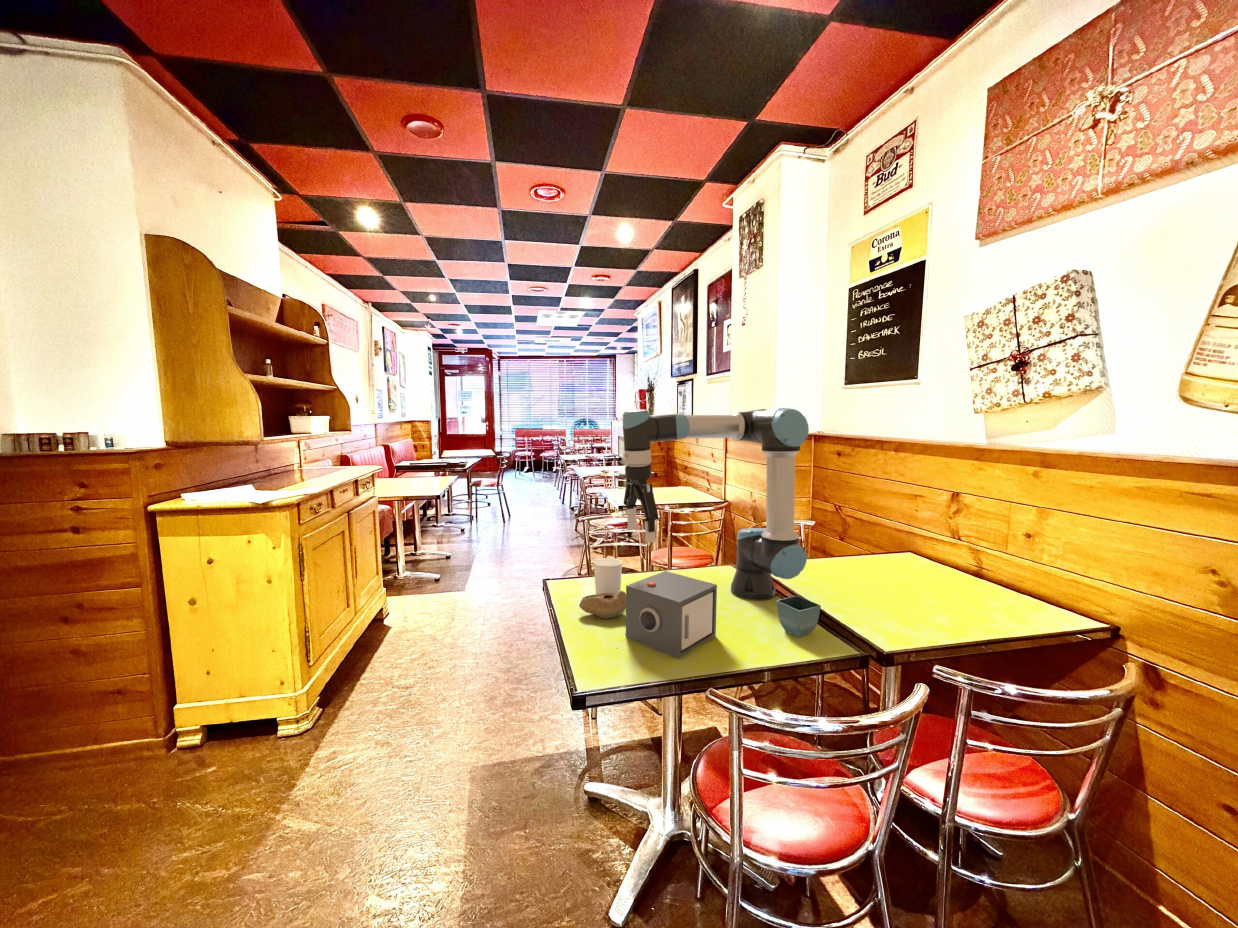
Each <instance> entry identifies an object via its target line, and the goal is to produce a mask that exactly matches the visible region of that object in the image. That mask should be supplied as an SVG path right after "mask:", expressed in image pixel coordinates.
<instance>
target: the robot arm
mask: <svg viewBox="0 0 1238 928" xmlns="http://www.w3.org/2000/svg"><path fill="white" fill-rule="evenodd" d="M809 430H810V429H809V423H808V420H807V418H806V417H805V415H804V414H803V413H802V412H800V411H799V410H798V409H794V408H788V407H787V408H786V407H781V408H762V409H754V410H749V411H748V410H747V411H734V412H733V413H732V414H715V415H714V414H712V415H711V414H709V415H708V414H684V413H672V414H650V411H649V410H647V409H630V410H629V409H628V410H626V411H624V412H623V414H622V433H623V446H624V447H623V450H624V452H623V454H622V456H623V458H624V464H626V465H625V466H624V472H625V475H624V477H625V482H626V485H625V491H624V496H623V497H624V498H623V506H625V508H626V516H627V517H626V518H627V531H632V530H637V529H638V524H637V523H638V522H637V519H638V518H637V507H638V506H637V501H640V505H641V507H642V508H641V509H642V511H643V514H644V520H643V521H644V533H645V534H644V536H645V544H651V543H652V544H653V543H656V523H655V521H656V520H659V514H658V513H659V512H658V509H657V504H656V501H655V497H654V495H655V494H654V491H653V489H654V488H653V484H652V483H651V484H648V481H647V480H648V479H650V478H651V477H652V465H651V463H652V453H651V452H652V449H651V443H655V442H656V443H658V442H668V441H679V440H684V439H731V440H732V441H735V442H736V441H737V442H738V441H739V442H740V441H742V442H749V443H750V442H751V443H755V444H761V453H763V454H764V455H765V456H766V497H765V498H766V503H765V504H766V508H765V509H766V510H765V511H766V516H765V517H766V520H765V521H766V525H765V528H764V527H750V528H749V527H748V528H747V527H746V528H742V529H740V530H738V532H737V538H736V542H737V543H736V570H735V574H734V575H733V579H732V580H731V581H732V582H731V585H730V592H731V593H732V594H733V595H734V596H736V597H739V598H742V599H745V600H752V601H767V600H772V599H773V598H774V597H775V596H776V587H775V584H774V581H773V577H772V575H773V576H774V577H777V578H780V579H783V580H791V579H794V578H797V577H798V576H799V575H800V574H801V572H803V570H804V569H805V567H806V564H807V560H808V556H807V552H806V550H805V549H804V547H802V546H801V545H800V535H799V534H798V533H797V532H796V530H795V496H796V495H795V486H796V485H795V484H796V483H795V482H796V479H795V478H796V474H795V473H796V456H797V455H798V454H799V453H800V452H801V445H803V444H804V442H806V439H807V438H808V436H809Z"/></svg>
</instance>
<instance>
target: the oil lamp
mask: <svg viewBox="0 0 1238 928" xmlns="http://www.w3.org/2000/svg"><path fill="white" fill-rule="evenodd" d="M578 606H579V608H580V609H581V610H582V611H584V612H585V613H588V614H591V615H595V616H597V617H598V618H600V619H605V620H608V619H609V620H610V619H613V618H616V617H618V615H620V614H622V613H623V612H624V611H626V591H624V590H620V592H619V594H618V595H617V594H614V593H602V594H596V593H595V594H589V595H586V596H584V597H582V598H581V600H580V602H579V605H578Z"/></svg>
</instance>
